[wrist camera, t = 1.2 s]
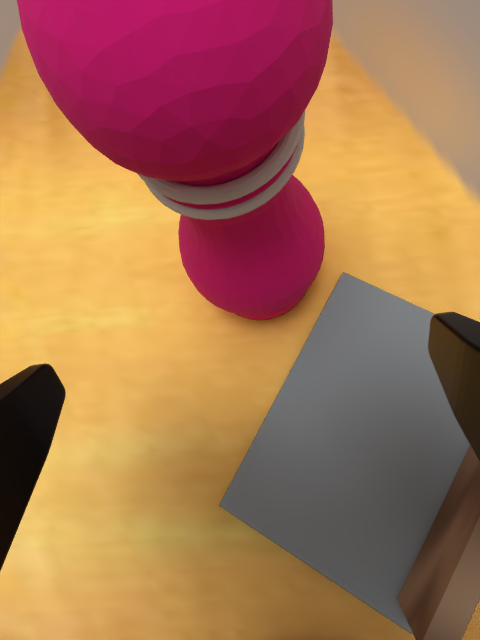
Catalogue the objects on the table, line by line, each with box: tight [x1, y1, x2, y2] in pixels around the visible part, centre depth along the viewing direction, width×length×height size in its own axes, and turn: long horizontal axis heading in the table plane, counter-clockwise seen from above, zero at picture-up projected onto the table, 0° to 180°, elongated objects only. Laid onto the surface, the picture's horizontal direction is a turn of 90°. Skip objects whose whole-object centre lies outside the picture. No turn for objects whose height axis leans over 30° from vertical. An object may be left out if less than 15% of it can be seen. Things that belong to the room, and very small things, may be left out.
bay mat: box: [219, 272, 470, 634], centre depth 20 cm, size 15×11×1 cm
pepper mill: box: [17, 0, 333, 320], centre depth 13 cm, size 7×7×20 cm
